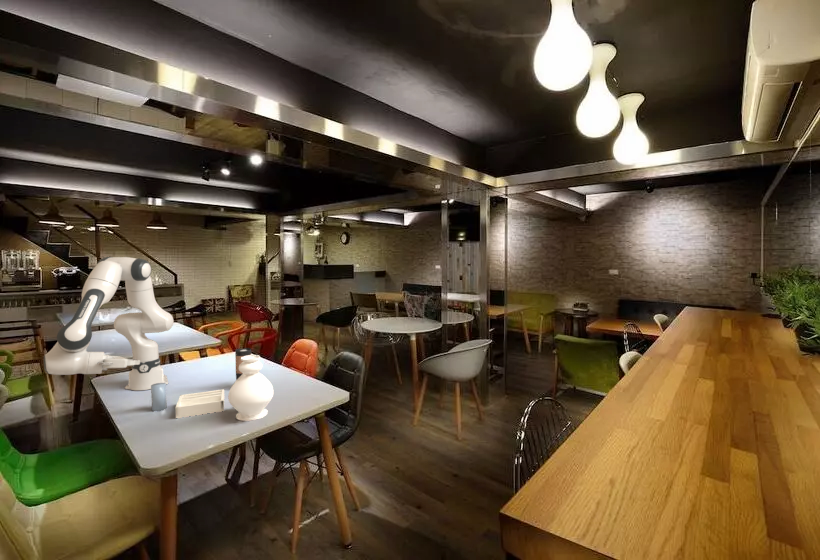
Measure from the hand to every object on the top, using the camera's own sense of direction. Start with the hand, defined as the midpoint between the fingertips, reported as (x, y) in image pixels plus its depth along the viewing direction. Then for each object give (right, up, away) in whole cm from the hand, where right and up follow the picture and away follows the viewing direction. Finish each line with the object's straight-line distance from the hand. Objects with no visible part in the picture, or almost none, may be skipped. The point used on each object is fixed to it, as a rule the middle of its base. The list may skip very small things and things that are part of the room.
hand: (138, 361), depth 164 cm
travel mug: (+32, -20, +32) cm, 49 cm away
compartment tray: (+25, -22, +5) cm, 33 cm away
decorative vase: (+50, -22, -2) cm, 55 cm away
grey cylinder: (+6, -22, +4) cm, 23 cm away
